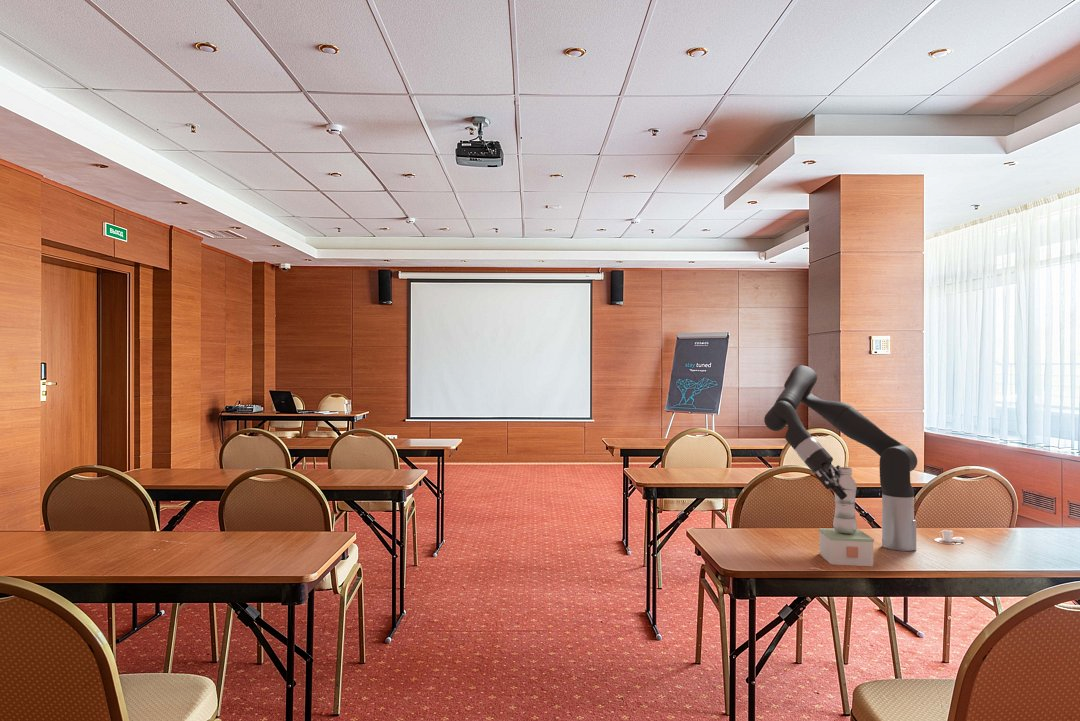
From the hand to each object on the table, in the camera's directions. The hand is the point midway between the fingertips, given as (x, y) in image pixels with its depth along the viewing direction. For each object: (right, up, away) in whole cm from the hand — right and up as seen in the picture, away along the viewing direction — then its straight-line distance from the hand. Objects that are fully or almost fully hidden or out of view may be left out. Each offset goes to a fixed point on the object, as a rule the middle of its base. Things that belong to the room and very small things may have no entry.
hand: (850, 496), depth 204 cm
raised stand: (-1, -20, +1) cm, 20 cm away
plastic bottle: (-1, -12, +1) cm, 12 cm away
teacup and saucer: (+46, -21, +22) cm, 55 cm away
